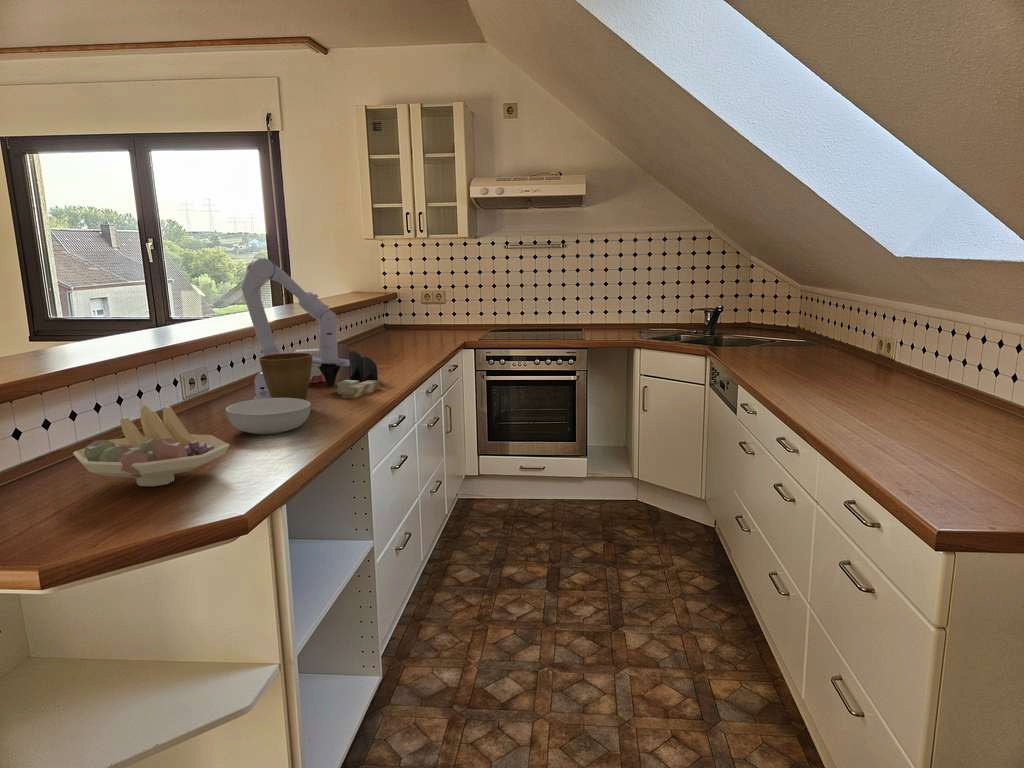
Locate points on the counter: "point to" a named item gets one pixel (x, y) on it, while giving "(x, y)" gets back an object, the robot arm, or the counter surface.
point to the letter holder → (356, 366)
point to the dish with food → (151, 450)
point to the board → (360, 389)
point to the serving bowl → (268, 415)
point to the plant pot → (287, 374)
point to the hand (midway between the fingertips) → (330, 386)
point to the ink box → (313, 365)
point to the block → (346, 384)
